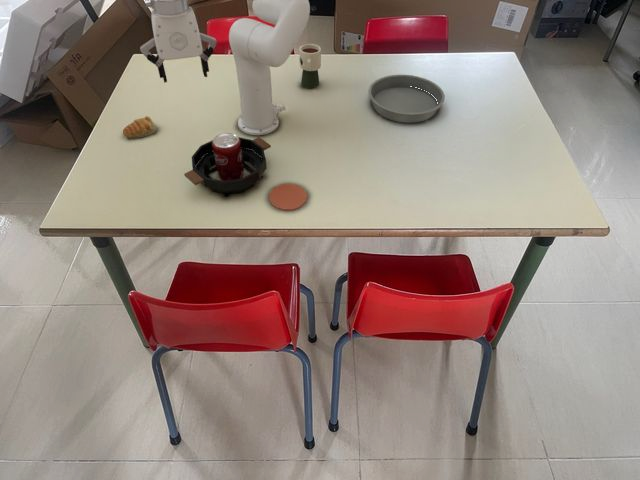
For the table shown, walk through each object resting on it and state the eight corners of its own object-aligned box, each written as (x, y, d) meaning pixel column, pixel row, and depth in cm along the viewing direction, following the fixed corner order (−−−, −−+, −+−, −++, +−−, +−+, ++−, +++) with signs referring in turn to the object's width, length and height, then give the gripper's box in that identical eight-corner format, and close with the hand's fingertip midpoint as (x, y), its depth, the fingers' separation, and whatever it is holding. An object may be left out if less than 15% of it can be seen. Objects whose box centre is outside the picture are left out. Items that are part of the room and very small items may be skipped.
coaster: (290, 180, 130) (290, 178, 129) (314, 198, 125) (314, 197, 124) (261, 196, 125) (261, 195, 125) (285, 216, 120) (285, 214, 120)
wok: (246, 143, 141) (244, 125, 136) (287, 174, 131) (287, 156, 127) (174, 178, 129) (169, 160, 125) (214, 215, 120) (210, 196, 115)
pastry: (129, 143, 140) (125, 132, 137) (120, 132, 143) (116, 122, 140) (159, 132, 144) (155, 121, 141) (149, 122, 147) (146, 111, 145)
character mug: (301, 76, 168) (300, 40, 158) (321, 77, 168) (322, 41, 158) (298, 92, 161) (297, 55, 151) (319, 93, 160) (319, 57, 151)
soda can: (223, 187, 127) (217, 151, 118) (214, 172, 131) (207, 136, 123) (248, 180, 129) (244, 143, 121) (239, 165, 134) (234, 129, 125)
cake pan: (453, 99, 159) (456, 87, 156) (423, 135, 145) (426, 122, 142) (388, 78, 168) (389, 66, 165) (353, 110, 154) (354, 97, 150)
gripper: (130, 15, 99) (150, 89, 111) (213, 6, 103) (223, 79, 115) (128, 1, 104) (147, 74, 116) (207, -6, 108) (218, 65, 120)
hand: (185, 77), depth 116 cm, fingers open, 9 cm apart
